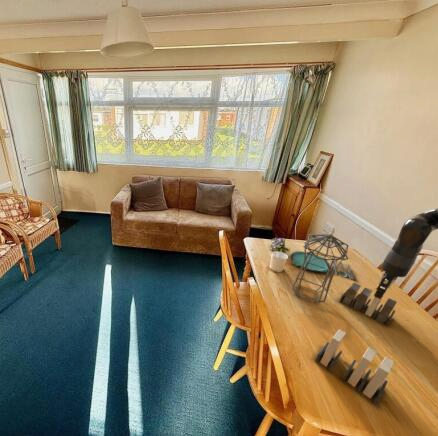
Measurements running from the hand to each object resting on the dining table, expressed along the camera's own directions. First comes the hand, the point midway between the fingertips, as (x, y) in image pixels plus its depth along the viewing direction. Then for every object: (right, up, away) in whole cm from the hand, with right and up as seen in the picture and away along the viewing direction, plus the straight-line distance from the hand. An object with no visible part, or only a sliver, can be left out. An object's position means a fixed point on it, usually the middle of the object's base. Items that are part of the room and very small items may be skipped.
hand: (380, 293), depth 97 cm
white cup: (-25, +2, +34) cm, 43 cm away
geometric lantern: (-22, -7, +15) cm, 27 cm away
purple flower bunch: (-14, +10, +51) cm, 54 cm away
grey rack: (-1, -10, +7) cm, 12 cm away
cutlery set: (+2, +4, +37) cm, 37 cm away
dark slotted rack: (-31, -22, -19) cm, 43 cm away
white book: (0, -10, +5) cm, 11 cm away
